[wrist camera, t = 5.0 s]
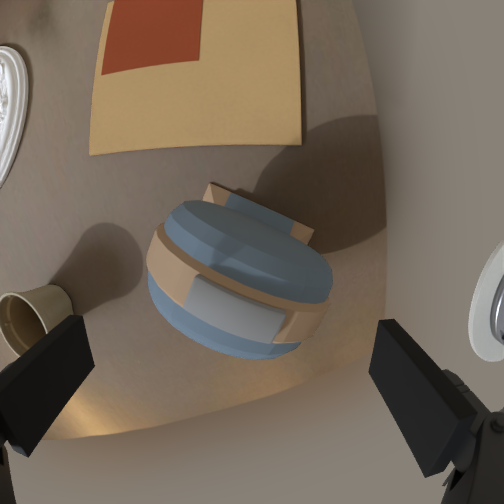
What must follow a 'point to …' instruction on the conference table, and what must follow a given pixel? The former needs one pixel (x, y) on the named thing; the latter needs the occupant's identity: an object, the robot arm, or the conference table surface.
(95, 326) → the conference table surface
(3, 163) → the ceiling medallion
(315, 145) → the conference table surface
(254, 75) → the mat
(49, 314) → the flower pot
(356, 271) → the conference table surface
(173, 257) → the alarm clock
